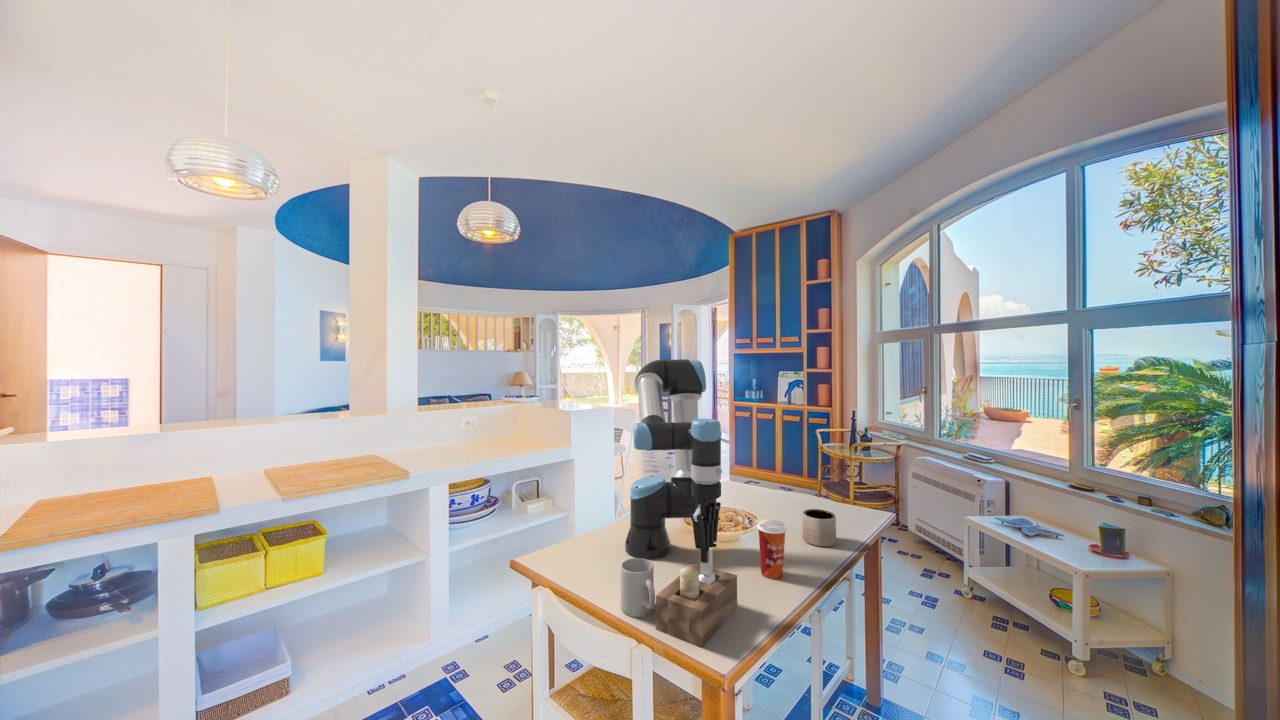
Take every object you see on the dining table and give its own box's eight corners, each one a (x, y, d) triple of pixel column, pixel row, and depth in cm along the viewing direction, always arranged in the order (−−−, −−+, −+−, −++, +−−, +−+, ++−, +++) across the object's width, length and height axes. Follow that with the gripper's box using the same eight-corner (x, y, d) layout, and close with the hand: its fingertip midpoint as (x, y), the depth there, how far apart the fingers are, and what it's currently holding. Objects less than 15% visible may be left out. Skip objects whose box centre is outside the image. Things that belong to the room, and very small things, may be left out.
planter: (807, 533, 162) (807, 506, 162) (839, 539, 156) (839, 512, 156) (798, 542, 153) (798, 515, 153) (832, 550, 147) (832, 521, 147)
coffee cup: (771, 583, 125) (771, 530, 125) (751, 571, 133) (751, 521, 133) (793, 577, 129) (792, 525, 129) (772, 565, 136) (772, 516, 136)
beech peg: (676, 606, 105) (676, 572, 105) (685, 598, 108) (685, 565, 108) (693, 612, 102) (693, 578, 102) (702, 603, 106) (702, 570, 106)
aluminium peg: (694, 606, 112) (694, 575, 112) (702, 599, 116) (702, 568, 116) (710, 612, 110) (710, 580, 110) (718, 604, 113) (718, 573, 113)
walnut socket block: (656, 629, 104) (655, 595, 104) (695, 592, 121) (695, 563, 121) (702, 647, 97) (702, 611, 97) (737, 606, 114) (737, 575, 114)
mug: (614, 604, 115) (614, 562, 115) (642, 595, 119) (642, 555, 119) (638, 629, 104) (638, 582, 104) (668, 618, 109) (668, 573, 109)
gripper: (708, 488, 105) (708, 588, 105) (730, 477, 116) (730, 567, 116) (680, 484, 109) (680, 579, 109) (704, 473, 120) (704, 560, 120)
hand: (706, 573), depth 113 cm, fingers closed
